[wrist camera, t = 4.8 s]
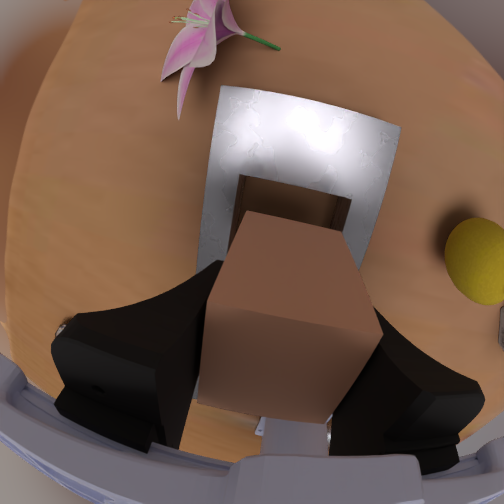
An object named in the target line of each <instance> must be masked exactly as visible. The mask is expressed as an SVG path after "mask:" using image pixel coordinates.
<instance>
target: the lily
mask: <svg viewBox="0 0 504 504" xmlns="http://www.w3.org/2000/svg"><path fill="white" fill-rule="evenodd" d="M187 10H188V15H187V18H184V17H182V16H178V17H175V16H174V17H173V19H180V20H186V22H184V23H186V27H184V28H183V29H182V30H181V31H180V32H179V33H178V35H177V36H176V37H175V39H174V41H173V43H172V44H171V46H170V49H169V51H168V54H167V57H166V60H165V63H164V67H163V71H162V76H161V81H162V80H163V79H165V78H166V77H167V76H169V75H170V74H172V73H174V72H175V71H177V70H179V69H180V68H182V67H183V66H184V68H183V70H182V72H181V76H180V81H179V87H178V97H177V115H178V120H179V118H180V114H181V110H182V106H183V102H184V98H185V94H186V91H187V88H188V85H189V82H190V79H191V76H192V74H193V71H194V69H195V68H196V67H205V66H208V65H210V64H211V63H212V62H213V61H214V60H215V55H216V45H217V44H219V43H220V42H222V41H224V40H225V39H227V38H229V37H231V36H232V35H241V36H244V37H247V38H250V39H252V40H255V41H257V42H259V43H262V44H264V45H267V46H269V47H271V48H273V49H276V50H278V51H279V50H280V49H281V48H280V47H278V46H276V45H274V44H271V43H269V42H267V41H265V40H262V39H260V38H258V37H255V36H253V35H251V34H248V33H246V32H244V31H242V30H241V29H240V28H239V27H238V25H237V24H236V22H235V20H234V17H233V15H232V12H231V9H230V5H229V0H193V2H192V4H191V7H190V9H187ZM179 17H180V18H179ZM173 22H181V21H171V22H169V23H173Z"/></svg>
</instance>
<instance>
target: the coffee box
mask: <svg viewBox="0 0 504 504" xmlns="http://www.w3.org/2000/svg"><path fill="white" fill-rule="evenodd" d="M498 343H499V344H500V346H501V348H502V349H503V351H504V306H503V307H502V308H501V311H500V328H499V340H498Z"/></svg>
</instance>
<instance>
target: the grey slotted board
mask: <svg viewBox="0 0 504 504" xmlns="http://www.w3.org/2000/svg"><path fill="white" fill-rule="evenodd" d="M400 132H401V127H399V126H396V125H393V124H390V123H388V122H385V121H382V120H379V119H376V118H373V117H370V116H367V115H364V114H360V113H357V112H354V111H350V110H347V109H344V108H340V107H336V106H333V105H329V104H325V103H321V102H317V101H312V100H308V99H304V98H299V97H294V96H289V95H284V94H279V93H274V92H268V91H262V90H255V89H249V88H241V87H234V86H225V85H221V89H220V95H219V101H218V106H217V112H216V118H215V124H214V131H213V137H212V144H211V150H210V157H209V164H208V171H207V179H206V186H205V194H204V202H203V211H202V219H201V228H200V238H199V248H198V258H197V269H196V274H197V273H199V272H200V271H202V270H203V269H204V268H206V267H207V266H209V265H210V264H211V263H213V262H214V261H216V260H222V261H224V260H225V258H226V256H227V254H228V251H229V249H230V247H231V244H232V242H233V240H234V238H235V235H236V231H237V225H238V219H239V213H240V207H241V201H242V195H243V190H244V184H245V178H246V176H252V177H257V178H262V179H267V180H272V181H277V182H281V183H286V184H291V185H295V186H300V187H304V188H309V189H313V190H317V191H321V192H326V193H330V194H334V195H338V196H339V197H338V200H337V204H336V208H335V211H334V215H333V218H332V222H331V225H330V229H332V230H336V231H340V232H341V233H342V235H343V237H344V239H345V241H346V243H347V246H348V248H349V250H350V252H351V255H352V257H353V259H354V262H355V264H356V266H357V268H358V271H359V269H360V266H361V263H362V261H363V258H364V255H365V252H366V250H367V247H368V244H369V241H370V238H371V235H372V232H373V229H374V226H375V223H376V220H377V217H378V214H379V211H380V207H381V204H382V201H383V197H384V194H385V191H386V187H387V184H388V180H389V176H390V173H391V169H392V165H393V161H394V157H395V153H396V149H397V145H398V141H399V136H400ZM199 374H200V373H199ZM198 385H199V376H198V380H197V383H196V386H195V390H194V393H193V397H192V398H193V399H197V397H198Z"/></svg>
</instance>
